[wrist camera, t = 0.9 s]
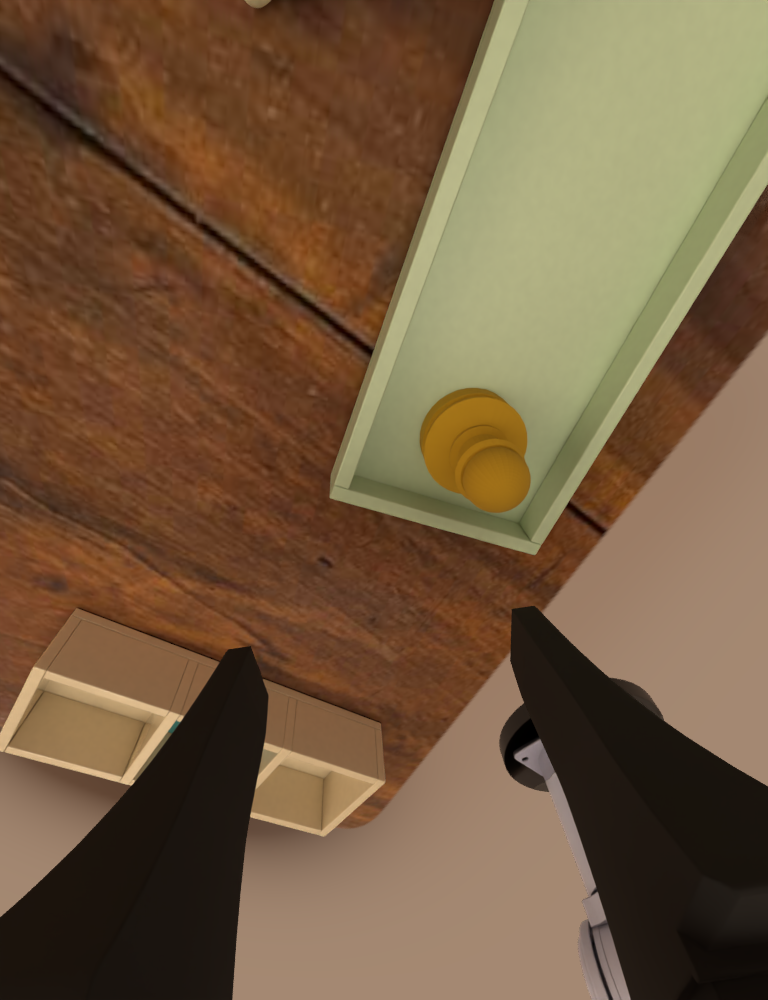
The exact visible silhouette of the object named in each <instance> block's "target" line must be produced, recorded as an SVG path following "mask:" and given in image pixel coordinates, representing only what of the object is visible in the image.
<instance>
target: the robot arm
mask: <svg viewBox="0 0 768 1000" xmlns="http://www.w3.org/2000/svg"><path fill="white" fill-rule="evenodd" d="M510 659H511V660H510V661H511V664H512V668H513V671H514V674H515V677H516V680H517V683H518V687H519V690H520V693H521V696H522V698H523V701H524V703H525V705H526V708H527V710H528V712H529V714H530V717H531V719H532V721H533V723H534V726H535V728H536V730H537V732H538V735H539V736H537V737H535V738H534V739H532V740H530V741H529V742H527V743H525V744H524V745H522V746H521V747H519V748H517V749H516V750H514V752H513V755H514V758H515V759H516V760H517V761H519V762H521V763H522V764H524V765H525V766H527V767H529V768H530V769H532V770H533V771H535V772H537V773H538V774H540V775H541V776H543V777H544V779H545V782H546V785H547V787H548V790H549V792H550V795H551V798H552V801H553V803H554V806H555V808H556V811H557V814H558V816H559V819H560V822H561V824H562V827H563V830H564V832H565V835H566V838H567V840H568V843H569V846H570V848H571V851H572V854H573V856H574V859H575V862H576V864H577V867H578V870H579V872H580V875H581V878H582V880H583V883H584V886H585V888H586V891H587V894H588V896H589V897H588V898H586V899H583V900H582V903H583V906H584V909H585V911H586V914H587V917H588V920H585V921H583V922H582V923H581V925H580V934H579V940H578V952H579V958H580V962H581V967H582V971H583V975H584V978H585V982H586V985H587V988H588V991H589V994H590V997H591V1000H768V786H766V785H765V784H763V783H761V782H759V781H758V780H756V779H754V778H752V777H751V776H749V775H747V774H745V773H744V772H742V771H740V770H738V769H737V768H735V767H733V766H732V765H730V764H728V763H727V762H725V761H724V760H722V759H721V758H719V757H718V756H716V755H714V754H713V753H711V752H710V751H708V750H707V749H705V748H703V747H702V746H700V745H699V744H697V743H695V742H694V741H692V740H691V739H689V738H688V737H686V736H685V735H683V734H682V733H680V732H679V731H677V730H676V729H674V728H673V727H672V726H670V725H669V724H668V723H666V722H665V721H663V720H662V719H661V718H659V717H658V716H657V715H655V714H654V713H653V712H651V711H650V710H648V709H647V708H646V707H645V706H643V705H642V704H641V703H639V702H638V701H637V700H636V699H634V698H633V697H632V696H631V695H629V694H628V693H627V692H626V691H624V690H623V689H622V688H621V687H620V686H618V685H617V684H616V683H615V682H614V681H612V680H611V679H610V678H609V677H608V676H607V675H605V674H604V673H603V672H602V671H601V670H600V669H598V668H597V667H596V666H595V665H594V664H593V663H592V662H591V661H590V660H589V659H588V658H587V657H586V656H584V655H583V654H582V653H581V652H580V651H579V650H578V649H577V648H576V647H575V646H574V645H573V644H572V643H571V642H570V641H569V640H568V639H567V638H565V636H564V635H563V634H562V633H561V632H559V630H558V629H557V628H556V627H555V626H554V625H553V624H552V623H551V622H550V621H549V620H548V619H547V618H546V617H545V616H544V615H543V614H542V613H541V612H540V611H539V610H538V609H537V608H536V607H535V606H530V607H523V608H516V609H512V624H511V658H510ZM268 699H269V695H268V692H267V690H266V687H265V684H264V681H263V679H262V676H261V673H260V671H259V668H258V665H257V662H256V660H255V657H254V654H253V651H252V649H251V646H249V647H242V648H235V649H229V650H228V651H227V652H226V653H225V655H224V656H223V658H222V659H221V661H220V663H219V664H218V666H217V667H216V669H215V670H214V672H213V674H212V675H211V677H210V678H209V680H208V681H207V683H206V685H205V686H204V688H203V689H202V691H201V692H200V694H199V695H198V697H197V698H196V700H195V701H194V703H193V704H192V706H191V707H190V709H189V710H188V711H187V713H186V714H185V716H184V717H183V719H182V720H181V722H180V723H179V725H178V726H177V727H176V729H175V730H174V731H173V733H172V734H171V736H170V737H169V738H168V740H167V741H166V742H165V744H164V745H163V746H162V748H161V749H160V750H159V752H158V753H157V754H156V756H155V757H154V758H153V760H152V761H151V762H150V763H149V765H148V766H147V767H146V768H145V770H144V771H143V772H142V773H141V775H140V776H139V777H138V778H137V780H136V781H135V782H134V783H133V784H132V785H131V787H130V788H129V789H128V790H127V791H126V793H125V794H124V795H123V796H122V797H121V798H120V800H119V801H118V802H117V803H116V804H115V805H114V806H113V807H112V808H111V809H110V811H109V812H108V813H107V814H106V815H105V816H104V817H103V818H102V819H101V821H100V822H99V823H98V824H97V825H96V826H95V827H94V828H93V829H92V830H91V831H90V832H89V833H88V834H87V836H85V838H84V839H83V840H82V841H81V842H80V843H79V844H78V845H77V846H76V847H75V848H74V849H73V850H72V851H71V852H70V853H69V854H68V855H67V856H66V857H65V858H64V859H63V860H62V861H61V862H60V863H59V864H58V865H57V866H55V867H54V868H53V869H52V870H51V871H50V872H49V873H48V874H47V875H46V876H45V877H44V878H43V879H42V880H41V881H40V882H39V883H38V884H37V885H36V886H35V887H33V888H32V889H31V890H30V891H29V892H28V893H27V894H26V895H25V896H24V897H23V898H22V899H21V900H19V901H18V902H17V903H16V904H15V905H14V906H13V907H12V908H10V909H9V910H8V911H7V912H6V913H5V914H3V915H2V916H1V917H0V1000H232V995H233V994H232V993H233V980H234V966H235V952H236V938H237V926H238V915H239V903H240V891H241V882H242V872H243V863H244V853H245V844H246V837H247V831H248V824H249V819H250V814H251V809H252V804H253V799H254V794H255V789H256V784H257V779H258V773H259V768H260V763H261V758H262V752H263V747H264V742H265V736H266V727H267V715H268Z"/></svg>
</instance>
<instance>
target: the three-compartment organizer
mask: <svg viewBox="0 0 768 1000" xmlns="http://www.w3.org/2000/svg"><path fill="white" fill-rule="evenodd" d="M219 663H220V662H218V661H215V660H213V659H210V658H207V657H205V656H202V655H200V654H197V653H194V652H192V651H189V650H186V649H184V648H181V647H178V646H176V645H173V644H171V643H168V642H165V641H163V640H160V639H157V638H155V637H152V636H149V635H147V634H144V633H142V632H139V631H136V630H134V629H131V628H128V627H126V626H123V625H121V624H118V623H115V622H113V621H110V620H107V619H105V618H102V617H99V616H97V615H94V614H92V613H89V612H86V611H84V610H81V609H78V608H76V609H75V610H74V612H73V613H72V614H71V616H70V617H69V619H68V620H67V621H66V623H65V624H64V625H63V627H62V628H61V629H60V631H59V632H58V634H57V635H56V636H55V638H54V639H53V640H52V642H51V643H50V644H49V646H48V647H47V649H46V650H45V651H44V653H43V654H42V655H41V657H40V658H39V659H38V661H37V662H36V664H35V665H34V666H33V668H32V670H31V672H30V674H29V676H28V678H27V680H26V682H25V684H24V686H23V688H22V690H21V692H20V694H19V696H18V698H17V700H16V702H15V704H14V706H13V708H12V710H11V712H10V714H9V716H8V718H7V720H6V722H5V724H4V726H3V728H2V731H1V732H0V751H3V752H4V751H5V752H6V753H10V754H14V755H18V756H21V757H25V758H29V759H33V760H37V761H40V762H44V763H48V764H52V765H56V766H59V767H63V768H67V769H71V770H75V771H79V772H82V773H86V774H89V775H93V776H97V777H101V778H104V779H108V780H112V781H116V782H120V783H124V784H127V785H129V784H130V785H132V784H133V783H134V782H135V781H136V780H137V778H138V777H139V776H140V775H141V773H142V772H143V771H144V770H145V768H146V767H147V766H148V765H149V763H150V762H151V761H152V760H153V758H154V757H155V756H156V754H157V753H158V752H159V750H160V749H161V748H162V746H163V745H164V744H165V742H166V741H167V740H168V738H169V737H170V736H171V734H172V733H173V731H174V730H175V729H176V727H177V726H178V725H179V723H180V722H181V720H182V719H183V717H184V716H185V714H186V713H187V711H188V710H189V709H190V707H191V706H192V704H193V703H194V701H195V700H196V698H197V697H198V695H199V694H200V692H201V691H202V689H203V688H204V686H205V685H206V683H207V681H208V680H209V678H210V677H211V675H212V674H213V672H214V670H215V669H216V667H217V666H218V664H219ZM262 679H263V678H262ZM263 681H264V684H265V687H266V690H267V692H268V695H269V699H268V715H267V727H266V736H265V742H264V747H263V752H262V758H261V763H260V768H259V773H258V779H257V784H256V789H255V794H254V799H253V804H252V809H251V814H250V817H252V818H256V819H260V820H263V821H267V822H271V823H275V824H279V825H283V826H287V827H290V828H294V829H297V830H301V831H305V832H309V833H313V834H316V835H317V834H318V835H320V836H326V835H327V834H328V833H329V832H330V831H332V830H333V829H334V828H335V827H336V826H337V825H338V824H339V823H341V822H342V821H343V820H344V819H345V818H346V817H347V816H348V815H350V814H351V813H352V812H353V811H354V810H355V809H356V808H357V807H359V806H360V805H361V804H362V803H363V802H364V801H365V800H366V799H368V798H369V797H370V796H371V795H372V794H373V793H374V792H375V791H377V790H378V789H379V788H380V787H381V786H382V785H383V784H384V783H385V782H386V781H385V768H384V755H383V742H382V731H381V723H379V722H376V721H373V720H371V719H368V718H366V717H363V716H360V715H358V714H355V713H352V712H350V711H347V710H344V709H342V708H339V707H337V706H334V705H331V704H329V703H326V702H323V701H321V700H318V699H315V698H313V697H310V696H308V695H305V694H302V693H300V692H297V691H294V690H292V689H289V688H287V687H284V686H281V685H279V684H276V683H273V682H271V681H268V680H265V679H263Z"/></svg>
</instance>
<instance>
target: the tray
mask: <svg viewBox="0 0 768 1000" xmlns="http://www.w3.org/2000/svg"><path fill="white" fill-rule="evenodd" d="M767 184H768V0H494V3H493V6H492V9H491V12H490V15H489V17H488V20H487V23H486V26H485V29H484V32H483V35H482V38H481V41H480V44H479V46H478V49H477V52H476V55H475V58H474V61H473V64H472V67H471V70H470V73H469V76H468V78H467V81H466V84H465V87H464V90H463V93H462V96H461V99H460V102H459V105H458V107H457V110H456V113H455V116H454V119H453V122H452V125H451V128H450V131H449V134H448V136H447V139H446V142H445V145H444V148H443V151H442V154H441V157H440V160H439V163H438V165H437V168H436V171H435V174H434V177H433V180H432V183H431V186H430V189H429V192H428V194H427V197H426V200H425V203H424V206H423V209H422V212H421V215H420V218H419V221H418V223H417V226H416V229H415V232H414V235H413V238H412V241H411V244H410V247H409V250H408V252H407V255H406V258H405V261H404V264H403V267H402V270H401V273H400V276H399V279H398V281H397V284H396V287H395V290H394V293H393V296H392V299H391V302H390V305H389V308H388V310H387V313H386V316H385V319H384V322H383V325H382V328H381V331H380V334H379V337H378V339H377V342H376V345H375V348H374V351H373V354H372V357H371V360H370V363H369V366H368V368H367V371H366V374H365V377H364V380H363V383H362V386H361V389H360V392H359V395H358V397H357V400H356V403H355V406H354V409H353V412H352V415H351V418H350V421H349V424H348V427H347V429H346V432H345V435H344V438H343V441H342V444H341V447H340V450H339V453H338V456H337V458H336V461H335V464H334V467H333V470H332V473H331V481H330V498H331V499H335V500H338V501H342V502H345V503H349V504H352V505H356V506H360V507H363V508H367V509H370V510H374V511H378V512H381V513H385V514H388V515H392V516H396V517H399V518H403V519H406V520H410V521H413V522H417V523H421V524H424V525H428V526H431V527H435V528H439V529H442V530H446V531H449V532H453V533H457V534H460V535H464V536H467V537H471V538H474V539H478V540H482V541H485V542H489V543H492V544H496V545H500V546H503V547H507V548H510V549H514V550H518V551H521V552H525V553H528V554H532V555H536V553H537V551H538V550H539V548H540V547H541V544H542V543H543V542H544V540H545V539H546V537H547V535H548V534H549V532H550V531H551V529H552V527H553V526H554V524H555V523H556V521H557V520H558V518H559V516H560V515H561V513H562V512H563V510H564V508H565V507H566V505H567V504H568V502H569V500H570V499H571V497H572V496H573V494H574V492H575V491H576V489H577V488H578V486H579V484H580V483H581V481H582V480H583V478H584V476H585V475H586V473H587V472H588V470H589V468H590V467H591V465H592V464H593V462H594V460H595V459H596V457H597V456H598V454H599V452H600V451H601V449H602V448H603V446H604V444H605V443H606V441H607V440H608V438H609V436H610V435H611V433H612V432H613V430H614V429H615V427H616V425H617V424H618V422H619V421H620V419H621V417H622V416H623V414H624V413H625V411H626V409H627V408H628V406H629V405H630V403H631V401H632V400H633V398H634V397H635V395H636V393H637V392H638V390H639V389H640V387H641V385H642V384H643V382H644V381H645V379H646V377H647V376H648V374H649V373H650V371H651V369H652V368H653V366H654V365H655V363H656V361H657V360H658V358H659V357H660V355H661V353H662V352H663V350H664V349H665V347H666V345H667V344H668V342H669V341H670V339H671V338H672V336H673V334H674V333H675V331H676V330H677V328H678V326H679V325H680V323H681V322H682V320H683V318H684V317H685V315H686V314H687V312H688V310H689V309H690V307H691V306H692V304H693V302H694V301H695V299H696V298H697V296H698V294H699V293H700V291H701V290H702V288H703V286H704V285H705V283H706V282H707V280H708V278H709V277H710V275H711V274H712V272H713V270H714V269H715V267H716V266H717V264H718V262H719V261H720V259H721V258H722V256H723V255H724V253H725V251H726V250H727V248H728V247H729V245H730V243H731V242H732V240H733V239H734V237H735V235H736V234H737V232H738V231H739V229H740V227H741V226H742V224H743V223H744V221H745V219H746V218H747V216H748V215H749V213H750V211H751V210H752V208H753V207H754V205H755V203H756V202H757V200H758V199H759V197H760V195H761V194H762V192H763V191H764V189H765V187H766V186H767ZM465 388H481V389H486V390H489V391H491V392H494V393H496V394H497V395H499V396H500V397H501V398H503V399H504V400H505V401H506V402H507V403H508V404H509V405H510V406H511V407H513V408H514V409H515V410H516V411H517V412H518V414H519V415H520V416H521V418H522V420H523V422H524V424H525V427H526V431H527V449H526V453H525V456H524V458H525V462H526V464H527V466H528V468H529V471H530V476H531V483H530V488H529V491H528V494H527V495H526V497H525V499H524V500H523V501H522V502H521V503H520V504H519V505H518V506H517V507H515V508H513V509H512V510H509V511H506V512H502V513H491V512H487V511H484V510H481V509H480V508H478V507H476V506H475V505H474V504H473V503H472V502H471V501H470V500H468V499H466V498H465V497H464V496H463V495H462V494H458V493H455V492H452V491H449V490H447V489H445V488H444V487H442V486H440V485H439V484H438V483H437V482H436V481H435V480H434V479H433V478H432V476H431V475H430V473H429V472H428V469H427V467H426V464H425V460H424V457H423V454H422V452H421V447H420V430H421V426H422V423H423V421H424V419H425V417H426V415H427V413H428V412H429V410H430V409H431V408H432V406H434V405H435V404H436V403H437V402H438V401H439V400H440V399H442V398H443V397H445V396H446V395H448V394H450V393H452V392H454V391H457V390H461V389H465Z"/></svg>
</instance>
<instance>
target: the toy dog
mask: <svg viewBox="0 0 768 1000" xmlns="http://www.w3.org/2000/svg"><path fill="white" fill-rule="evenodd" d="M245 1H246V3H247V4H248V5H250V6H252V7H254V8H261V7H264V6H265V5H267V4H268V3H269V2H270V1H271V0H245Z"/></svg>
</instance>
